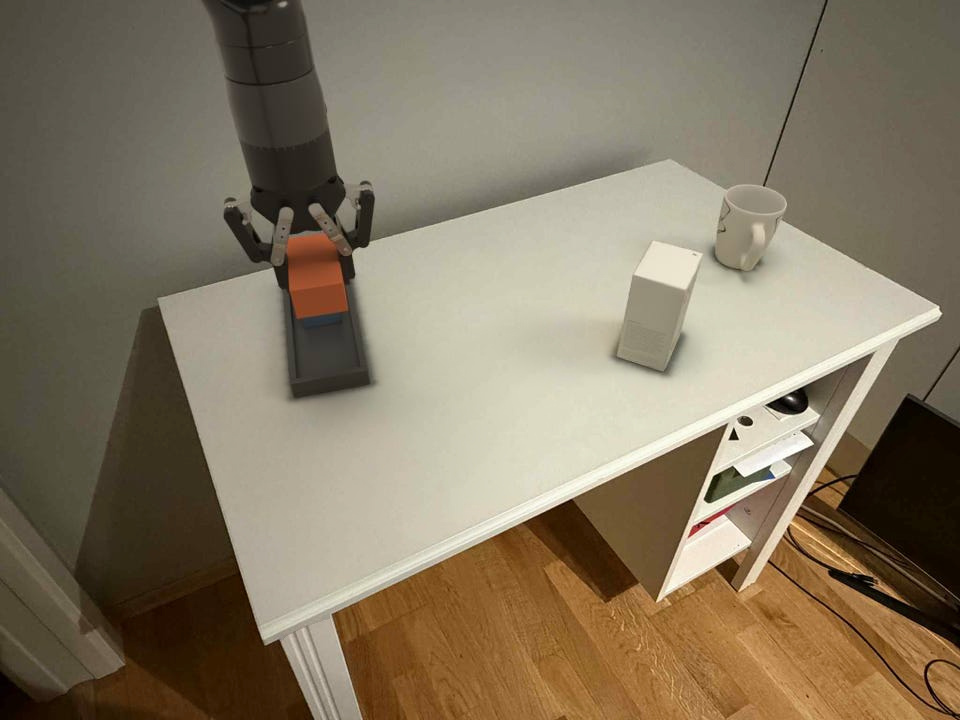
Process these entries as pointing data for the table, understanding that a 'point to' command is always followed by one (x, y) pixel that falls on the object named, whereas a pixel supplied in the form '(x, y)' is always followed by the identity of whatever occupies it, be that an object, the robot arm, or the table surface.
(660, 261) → the small box
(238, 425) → the table surface
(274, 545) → the table surface
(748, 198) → the mug
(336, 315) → the seated pad
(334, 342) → the frame
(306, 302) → the orange block
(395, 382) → the table surface
